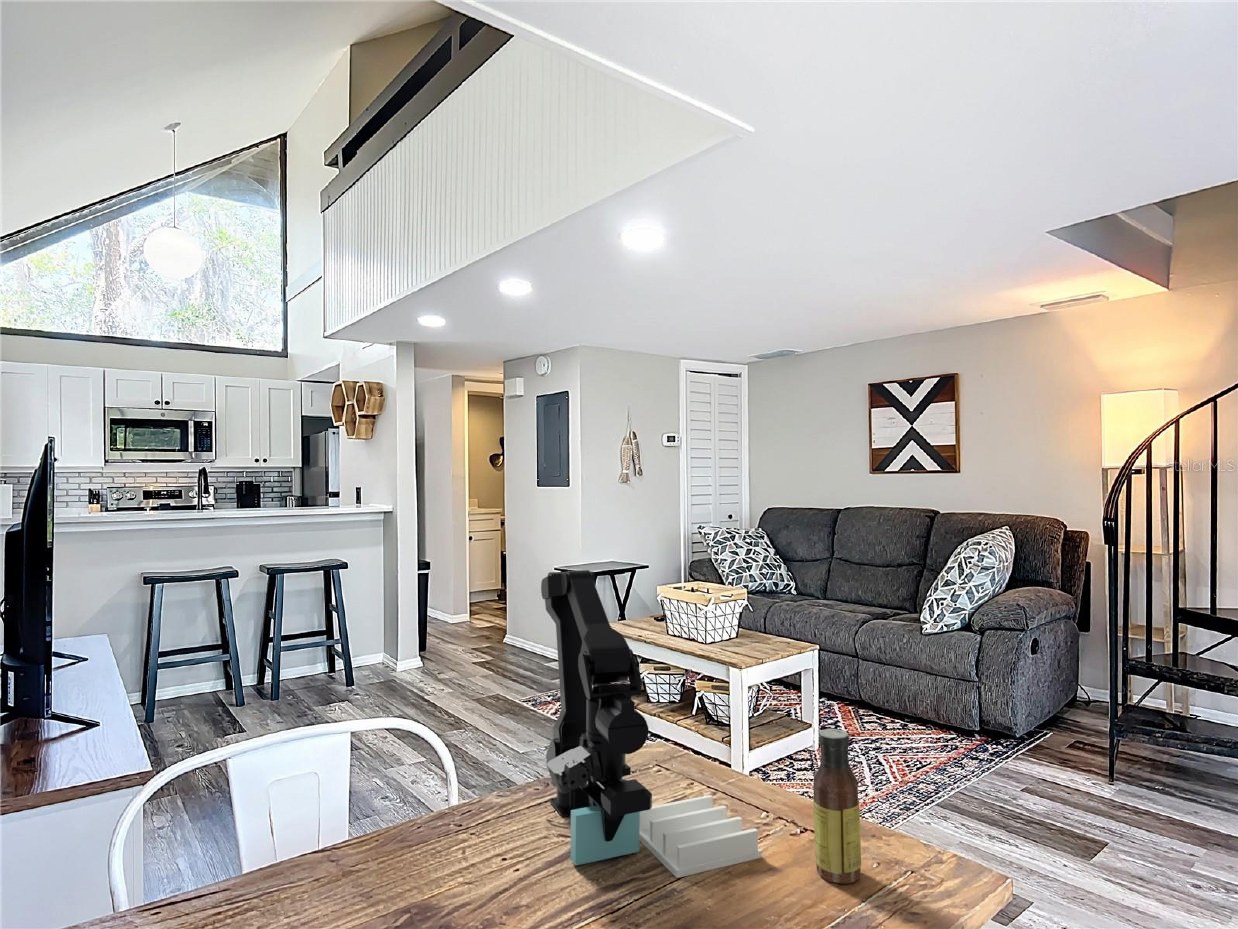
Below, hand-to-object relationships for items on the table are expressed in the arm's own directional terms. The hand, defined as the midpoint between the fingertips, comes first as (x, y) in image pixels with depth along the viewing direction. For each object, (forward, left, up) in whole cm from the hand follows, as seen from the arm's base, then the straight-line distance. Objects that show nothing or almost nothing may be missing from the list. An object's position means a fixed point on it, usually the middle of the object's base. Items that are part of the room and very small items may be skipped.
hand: (605, 837), depth 112 cm
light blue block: (0, 0, -3) cm, 3 cm away
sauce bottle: (+17, +28, -3) cm, 33 cm away
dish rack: (+2, +14, -3) cm, 14 cm away
